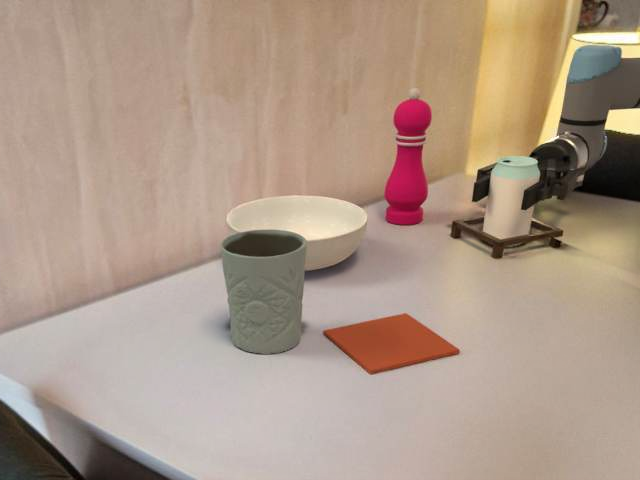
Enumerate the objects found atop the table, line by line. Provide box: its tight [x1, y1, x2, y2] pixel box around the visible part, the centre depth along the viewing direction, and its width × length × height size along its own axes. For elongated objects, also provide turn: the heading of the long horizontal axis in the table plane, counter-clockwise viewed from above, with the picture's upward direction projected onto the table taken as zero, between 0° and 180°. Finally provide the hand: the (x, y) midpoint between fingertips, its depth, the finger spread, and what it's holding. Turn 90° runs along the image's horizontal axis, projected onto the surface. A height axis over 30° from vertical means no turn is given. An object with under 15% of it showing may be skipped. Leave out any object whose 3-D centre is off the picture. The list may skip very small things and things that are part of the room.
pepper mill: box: [383, 87, 433, 226], centre depth 125 cm, size 7×7×20 cm
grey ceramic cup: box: [219, 229, 307, 355], centre depth 91 cm, size 10×10×12 cm
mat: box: [322, 312, 461, 375], centre depth 93 cm, size 12×12×1 cm
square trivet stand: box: [450, 214, 564, 259], centre depth 120 cm, size 12×12×2 cm
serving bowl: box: [225, 195, 369, 272], centre depth 114 cm, size 21×21×7 cm
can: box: [482, 155, 540, 248], centre depth 117 cm, size 7×7×12 cm
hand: (499, 196), depth 113 cm, fingers closed on can, 7 cm apart
